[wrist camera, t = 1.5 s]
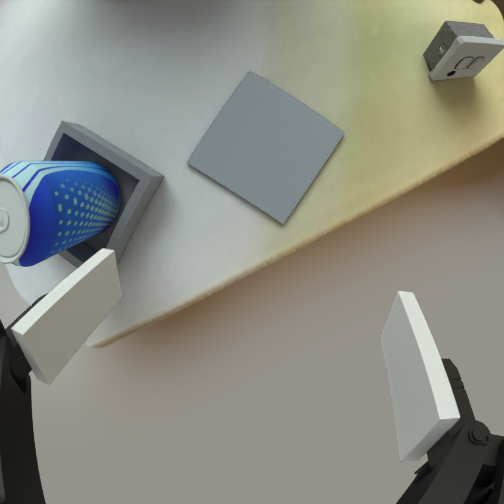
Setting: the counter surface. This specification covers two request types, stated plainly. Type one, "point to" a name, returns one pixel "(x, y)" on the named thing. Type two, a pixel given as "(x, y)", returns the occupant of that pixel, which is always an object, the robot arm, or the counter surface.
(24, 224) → the beer can
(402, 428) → the robot arm
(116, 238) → the grey storage bin
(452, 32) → the electrical switch
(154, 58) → the counter surface
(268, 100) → the coaster mat
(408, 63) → the counter surface
